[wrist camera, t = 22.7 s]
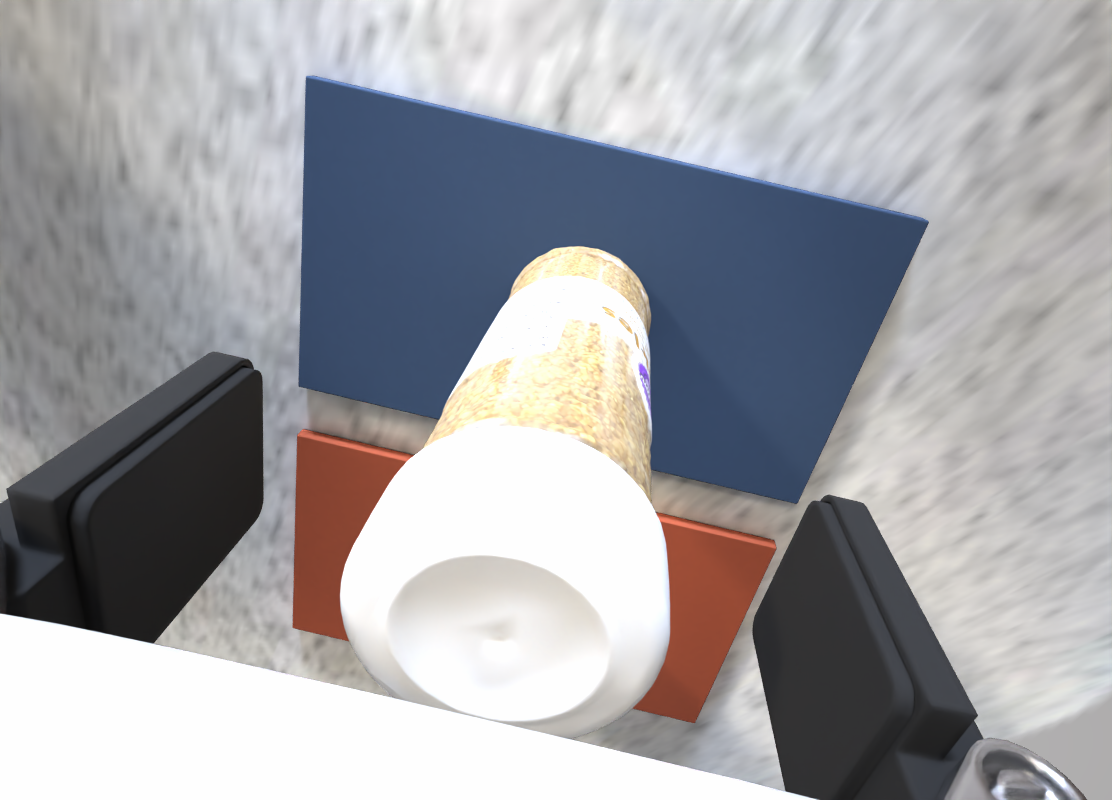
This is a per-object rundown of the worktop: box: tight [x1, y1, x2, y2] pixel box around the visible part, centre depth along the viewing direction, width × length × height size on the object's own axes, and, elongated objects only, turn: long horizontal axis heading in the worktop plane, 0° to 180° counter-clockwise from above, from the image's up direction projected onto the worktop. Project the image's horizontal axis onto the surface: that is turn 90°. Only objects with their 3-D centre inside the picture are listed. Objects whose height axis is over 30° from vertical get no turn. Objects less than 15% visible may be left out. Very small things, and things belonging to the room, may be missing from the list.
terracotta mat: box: [293, 429, 776, 723], centre depth 26 cm, size 18×10×1 cm, turn 78°
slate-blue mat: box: [299, 76, 929, 504], centre depth 21 cm, size 18×10×1 cm, turn 78°
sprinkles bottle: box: [340, 246, 670, 739], centre depth 15 cm, size 5×4×13 cm
